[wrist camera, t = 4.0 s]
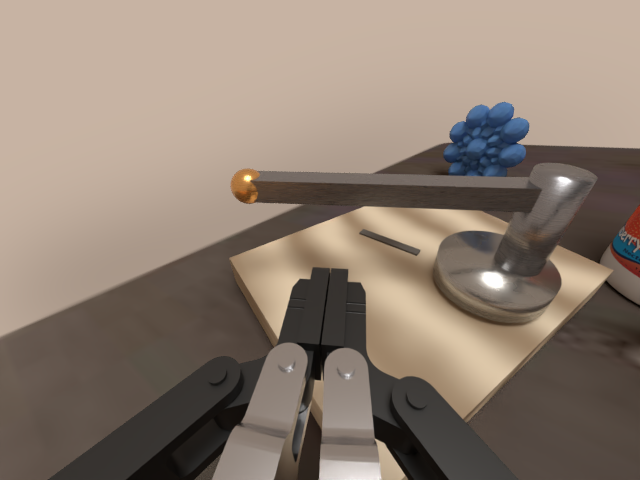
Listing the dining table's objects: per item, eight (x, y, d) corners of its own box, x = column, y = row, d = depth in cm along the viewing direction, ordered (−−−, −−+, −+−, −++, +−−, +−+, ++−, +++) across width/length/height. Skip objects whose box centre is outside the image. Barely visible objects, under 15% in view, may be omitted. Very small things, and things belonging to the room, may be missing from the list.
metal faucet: (518, 253, 25) (570, 149, 19) (571, 329, 18) (672, 208, 13) (264, 239, 27) (247, 145, 22) (234, 302, 21) (199, 192, 16)
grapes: (524, 197, 39) (567, 104, 32) (491, 208, 37) (529, 111, 30) (459, 168, 48) (481, 90, 41) (428, 177, 46) (446, 95, 39)
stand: (418, 204, 39) (422, 183, 37) (593, 295, 25) (615, 268, 23) (236, 281, 28) (228, 256, 26) (371, 517, 14) (377, 502, 12)
